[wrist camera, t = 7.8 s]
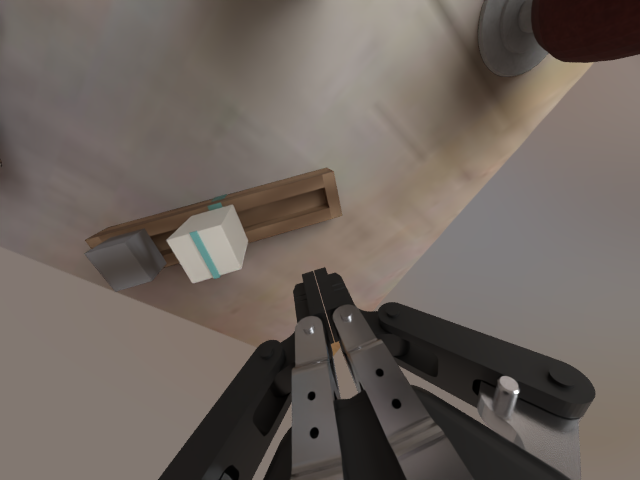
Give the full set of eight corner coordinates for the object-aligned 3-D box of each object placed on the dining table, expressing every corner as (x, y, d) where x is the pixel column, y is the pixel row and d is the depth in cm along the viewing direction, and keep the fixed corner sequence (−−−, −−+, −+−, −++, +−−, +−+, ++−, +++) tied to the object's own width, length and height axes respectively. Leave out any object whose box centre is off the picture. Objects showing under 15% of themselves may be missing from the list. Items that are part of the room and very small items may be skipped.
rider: (196, 210, 28) (164, 240, 20) (235, 199, 29) (220, 224, 20) (214, 245, 31) (192, 285, 22) (249, 235, 31) (241, 270, 23)
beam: (107, 227, 29) (53, 256, 22) (326, 166, 32) (342, 175, 24) (135, 265, 32) (95, 302, 25) (335, 208, 34) (351, 226, 27)
